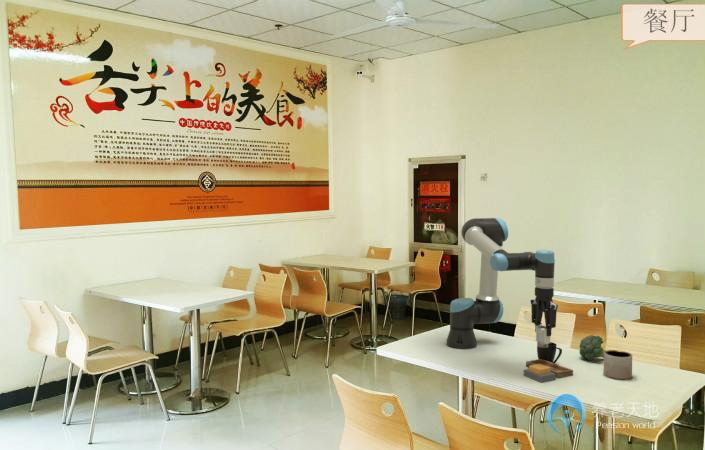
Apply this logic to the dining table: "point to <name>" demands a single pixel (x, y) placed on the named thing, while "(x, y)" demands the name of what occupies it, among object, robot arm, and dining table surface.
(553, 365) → the wooden tray
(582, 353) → the vegetable
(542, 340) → the cell
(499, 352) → the dining table surface
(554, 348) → the mug
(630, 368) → the planter
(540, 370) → the orange square block
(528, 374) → the frame
